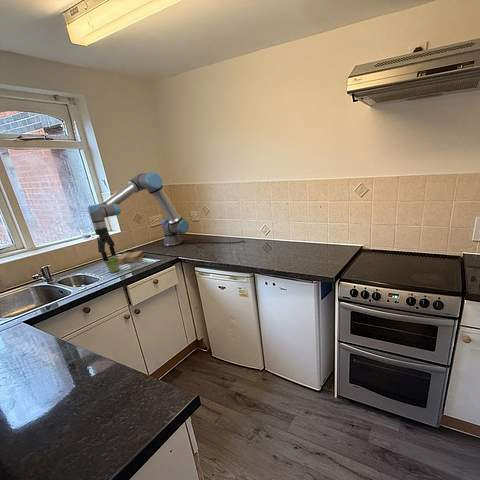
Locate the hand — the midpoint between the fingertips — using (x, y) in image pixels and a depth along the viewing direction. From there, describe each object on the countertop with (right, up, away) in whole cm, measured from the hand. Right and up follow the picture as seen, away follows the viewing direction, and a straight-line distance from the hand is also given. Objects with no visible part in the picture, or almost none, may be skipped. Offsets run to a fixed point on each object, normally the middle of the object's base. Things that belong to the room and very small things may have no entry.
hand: (110, 258), depth 206 cm
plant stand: (+2, 0, +26) cm, 26 cm away
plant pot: (+1, -9, +4) cm, 10 cm away
